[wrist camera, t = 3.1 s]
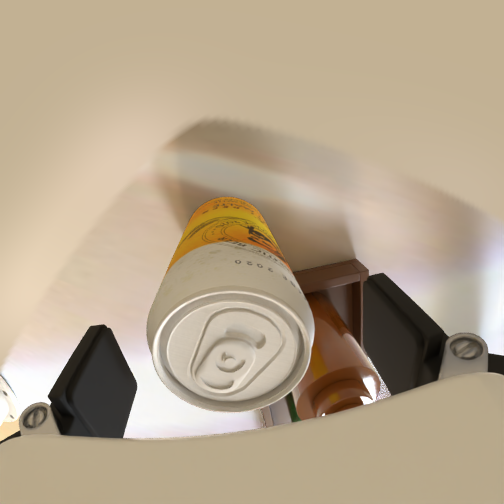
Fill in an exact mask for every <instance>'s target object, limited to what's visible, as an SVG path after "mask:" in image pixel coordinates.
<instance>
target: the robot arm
mask: <svg viewBox="0 0 504 504" xmlns="http://www.w3.org/2000/svg"><path fill="white" fill-rule="evenodd" d="M363 346H364V349H365V351H366V353H367V355H368V356H369V358H370V359H371V361H372V363H373V364H374V366H375V368H376V369H377V371H378V373H379V375H380V376H381V378H382V380H383V381H384V383H385V385H386V386H387V388H388V390H389V392H390V393H391V395H392V396H390V397H387V398H384V399H381V400H378V401H375V402H372V403H368V404H365V405H361V406H358V407H354V408H351V409H347V410H344V411H340V412H336V413H332V414H328V415H324V416H320V417H316V418H312V419H307V420H303V421H298V422H293V423H288V424H283V425H277V426H272V427H266V428H260V429H254V430H247V431H240V432H232V433H224V434H214V435H204V436H191V437H175V438H123V436H124V432H125V428H126V425H127V421H128V418H129V414H130V411H131V407H132V404H133V401H134V397H135V394H136V391H137V382H136V380H135V378H134V376H133V374H132V372H131V370H130V368H129V366H128V364H127V362H126V360H125V358H124V356H123V354H122V352H121V349H120V347H119V345H118V343H117V341H116V339H115V337H114V334H113V332H112V330H111V329H110V328H107V326H106V325H104V324H103V325H95V326H90V327H89V329H88V330H87V332H86V333H85V335H84V337H83V338H82V340H81V341H80V343H79V344H78V346H77V348H76V349H75V351H74V352H73V354H72V356H71V357H70V359H69V361H68V362H67V364H66V366H65V367H64V369H63V371H62V372H61V374H60V376H59V377H58V379H57V381H56V382H55V384H54V386H53V388H52V389H51V391H50V393H49V395H48V398H49V399H50V401H51V402H52V403H51V405H50V406H49V405H48V404H46V403H43V402H39V403H35V404H32V405H30V406H29V407H27V408H26V409H25V410H24V411H23V413H22V414H21V416H20V419H19V427H20V431H18V432H16V433H14V434H13V435H11V436H9V437H7V438H6V439H4V440H2V441H0V504H504V356H502V355H496V354H489V353H488V347H487V344H486V342H485V341H484V340H483V339H482V338H481V337H479V336H477V335H475V334H471V333H458V334H455V335H453V336H451V337H450V338H449V337H448V336H447V335H446V334H445V333H444V331H443V330H442V329H441V328H440V327H439V326H438V325H437V324H436V323H435V322H434V321H433V320H432V319H431V318H430V317H429V316H428V315H427V314H426V313H425V312H424V311H423V310H422V309H421V308H420V307H419V306H418V305H417V304H416V303H415V302H414V301H413V300H412V299H411V298H410V297H409V296H408V295H407V294H406V293H405V292H403V291H402V290H401V289H400V288H399V287H398V286H397V285H396V284H395V283H394V282H393V281H392V280H391V279H390V278H388V277H387V276H386V275H385V274H384V273H379V274H375V275H371V276H368V277H367V281H364V282H363ZM19 414H20V407H19V404H18V401H17V399H16V397H15V395H14V393H13V392H12V390H11V389H10V387H9V386H8V384H7V383H6V382H5V380H4V379H3V378H2V377H1V376H0V426H1V424H2V422H3V421H6V422H13V421H15V420H16V419H17V418H18V416H19Z"/></svg>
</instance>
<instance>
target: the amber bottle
mask: <svg viewBox="0 0 504 504" xmlns="http://www.w3.org/2000/svg"><path fill="white" fill-rule="evenodd" d="M304 296H305V298H306V300H307V302H308V304H309V306H310V309H311V311H312V315H313V319H314V327H315V331H314V340H313V345H312V348H311V358H310V363H309V366H308V369H307V371H306V373H305V375H304V376H303V378H302V379H301V381H300V382H299V383H298V385H297V386H296V387H295V388H294V389H293V390H292V391H291V393H292V397H293V400H294V404H295V408H296V412H297V415H298V416H299V418H300V419H301V420H302V421H303V420H307V419H312V418H316V417H320V416H324V415H328V414H332V413H336V412H340V411H344V410H347V409H351V408H354V407H358V406H361V405H365V404H368V403H372V402H374V401H375V399H376V398H377V396H378V393H379V391H380V379H379V376H378V374H377V373H376V371H375V370H374V368H373V366H372V365H371V363H370V362H369V360H368V358H367V357H366V355H365V354H364V352H363V350H362V349H361V347H360V346H359V344H358V343H357V341H356V339H355V338H354V336H353V335H352V333H351V332H350V330H349V328H348V327H347V325H346V324H345V322H344V321H343V319H342V318H341V316H340V315H339V313H338V311H337V310H336V308H335V307H334V305H333V304H332V302H331V301H330V299H329V298H328V297H327V296H325V295H324V294H322V293H320V292H317V291H315V292H310V293H305V294H304Z"/></svg>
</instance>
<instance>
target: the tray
mask: <svg viewBox="0 0 504 504" xmlns="http://www.w3.org/2000/svg"><path fill="white" fill-rule="evenodd" d="M293 275H294V277H295V279H296V281H297V283H298V285H299V287H300V288H301V290H302V292H303V294H305V293H310V292H315V291H317V292H320V293H322V294H324V295H325V296H327V297H328V298H329V299H330V301H331V302H332V304H333V305H334V307H335V308H336V310H337V311H338V313H339V315H340V316H341V318H342V319H343V321H344V322H345V324H346V325H347V327H348V328H349V330H350V332H351V333H352V335H353V336H354V338H355V339H356V341H357V343H358V344H359V346H360V347H361V349H362V350H363V352H364V354H365V355H366V357H368V355H367V353H366V351H365V349H364V346H363V282H364V281H367V277H368V276H369V270H368V269H367V268H366V267H365V266H364V265H363V264H362V263H360V262H359V261H358V260H357V259H353V260H349V261H344V262H340V263H335V264H330V265H326V266H321V267H316V268H312V269H307V270H302V271H297V272H293ZM286 396H287V395H286ZM286 396H284V397H283V398H281V399H280V400H278V401H276V402H274V403H272V404H270V405H268V406H265V407H263V408H261V409H262V413H263V417H264V420H265V424H266V427H272V426H277V425H283V424H288V423H291V419H290V415H289V411H288V407H287V403H286Z"/></svg>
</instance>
